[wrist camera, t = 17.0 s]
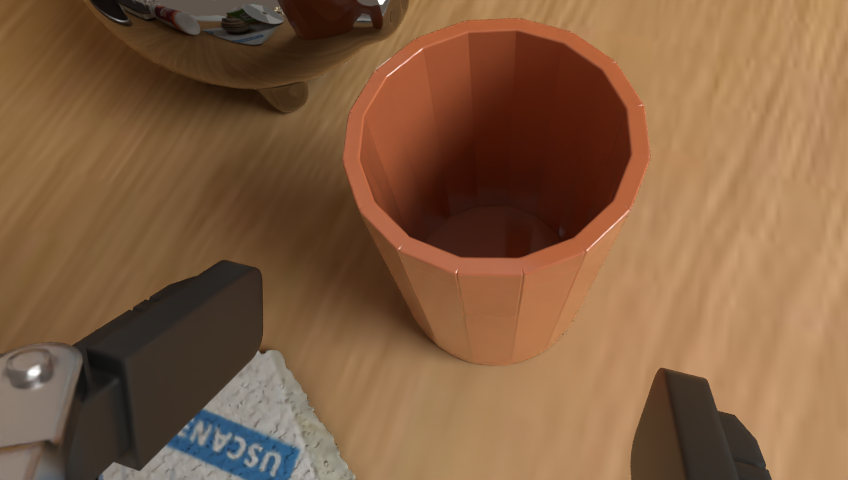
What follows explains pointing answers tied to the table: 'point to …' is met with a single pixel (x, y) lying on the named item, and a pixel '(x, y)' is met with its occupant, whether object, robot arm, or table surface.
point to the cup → (496, 179)
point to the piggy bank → (251, 38)
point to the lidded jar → (249, 434)
